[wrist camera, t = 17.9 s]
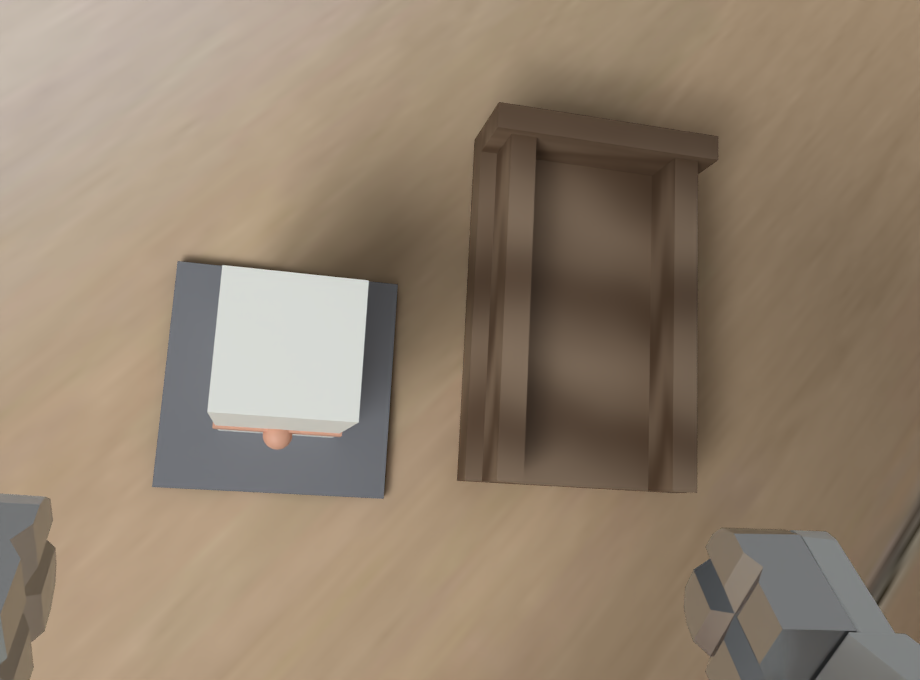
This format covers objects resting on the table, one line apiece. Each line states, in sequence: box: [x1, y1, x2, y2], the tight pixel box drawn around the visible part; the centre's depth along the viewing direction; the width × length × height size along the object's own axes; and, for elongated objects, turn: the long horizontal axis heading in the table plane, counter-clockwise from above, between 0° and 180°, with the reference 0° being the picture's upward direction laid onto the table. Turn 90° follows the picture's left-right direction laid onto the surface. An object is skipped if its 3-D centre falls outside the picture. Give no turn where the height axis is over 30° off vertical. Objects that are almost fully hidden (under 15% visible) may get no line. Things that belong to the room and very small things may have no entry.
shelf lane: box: [457, 102, 718, 493], centre depth 41 cm, size 17×11×4 cm, turn 177°
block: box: [207, 265, 369, 450], centre depth 34 cm, size 6×5×10 cm
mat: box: [152, 261, 398, 499], centre depth 39 cm, size 10×10×1 cm
